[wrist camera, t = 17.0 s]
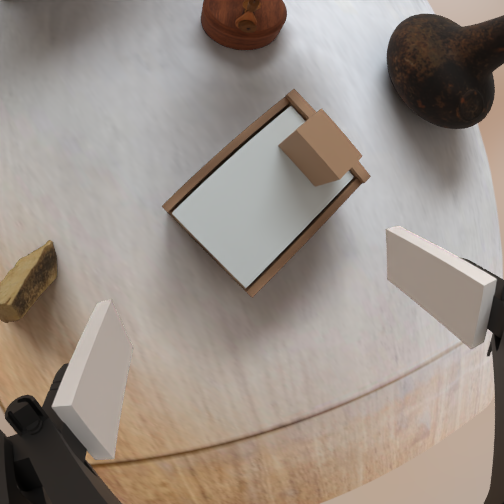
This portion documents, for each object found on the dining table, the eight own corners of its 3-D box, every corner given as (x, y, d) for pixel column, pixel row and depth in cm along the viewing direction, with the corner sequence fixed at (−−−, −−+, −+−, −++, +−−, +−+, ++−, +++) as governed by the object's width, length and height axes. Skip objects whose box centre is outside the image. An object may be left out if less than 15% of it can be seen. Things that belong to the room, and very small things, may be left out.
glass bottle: (371, 118, 38) (545, 37, 11) (367, 19, 37) (481, -80, 10) (459, 150, 42) (606, 122, 15) (449, 59, 41) (565, 5, 14)
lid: (172, 213, 27) (168, 209, 21) (287, 109, 29) (310, 84, 23) (243, 286, 29) (258, 300, 23) (349, 178, 30) (382, 169, 24)
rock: (-4, 339, 28) (57, 343, 29) (-49, 310, 21) (11, 311, 22) (13, 262, 34) (70, 257, 35) (-22, 224, 27) (38, 213, 28)
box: (167, 211, 34) (161, 205, 25) (270, 117, 36) (294, 88, 27) (237, 282, 36) (253, 299, 28) (332, 186, 38) (370, 176, 29)
